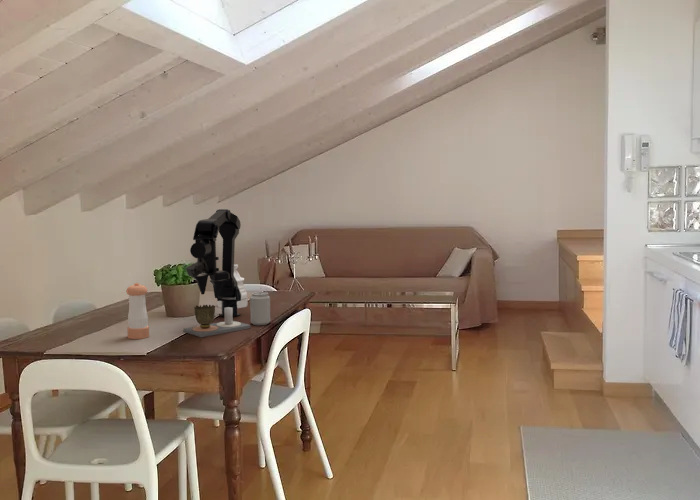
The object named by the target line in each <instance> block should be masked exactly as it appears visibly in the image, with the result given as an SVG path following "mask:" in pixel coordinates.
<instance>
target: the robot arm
mask: <svg viewBox="0 0 700 500" xmlns="http://www.w3.org/2000/svg"><path fill="white" fill-rule="evenodd" d="M241 223H242V222H241V221H240V219H239V216H237V215H236V214H235V213H233V212H231V210H230V209H225V208H224V209H223V208H221V209H216V211H215V212H214V214H212V215H210V217H208V218H205V219H201V220H198V221H197V223H196V225H195V228H194V234H193V237H192V239H193V241H194V242H195V243H193V244H192V245H191V246H190V251H189V252H190V254H191V256H192V257H193V258H195V259H197V261H196V262H193V263H192V264H190V265H188V266H186V267H185V270H186V274H187V275H188V277H190V278H192V279H194V280H195V281H196V284H197V286H198V289H199V291H200V294H201V295H205V294H206V288H207V284H208V279H210V280H209V282H211V284H212V286H213V287H212V288H213V294H214V298H215V299H216V300H217V301H216V302H218V301H222V308H221V313H218V316H221V317H223V318H225V316H224V308H226V307H232V308H233V317H237V316H241V313H238V308H237V302H238V301H241V293H240V290H239V288H238V283H237V281H236V279H235V277H234V265H235V244H236V243H235V241H236V240H237V237H238V236H239V234H240V229H241ZM218 234H219V235H220V237H221V239H222V255H221V256H222V259H221V260H222V261H221V270H220V268H219V267H217V261H219V256H217V245H216V244H217V238H218ZM235 297H236V298H235Z"/></svg>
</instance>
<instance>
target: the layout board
mask: <svg viewBox="0 0 700 500" xmlns="http://www.w3.org/2000/svg"><path fill="white" fill-rule="evenodd" d="M224 316H225V317H224ZM224 316H223V317H224V321H219V322H218V321H217V322H214V323H210V327H209V328H207V329H203V328H201V327H200V325H196V326H190V327H184V328H183V333H185V334H190V335H192V336H196V337H198V338H205V337H211V336H215V335H221V334H226V333H231V332H232V333H233V332H237V331H242V330H247V329H251V324H248V323H244V322H241V321H240V322H239V321H237V320H234V319H233V318H234V316H233V308H232V307H226V308H224Z"/></svg>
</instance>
